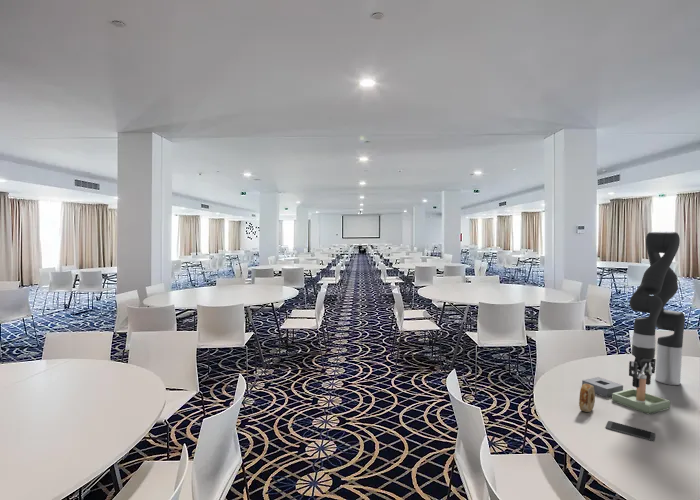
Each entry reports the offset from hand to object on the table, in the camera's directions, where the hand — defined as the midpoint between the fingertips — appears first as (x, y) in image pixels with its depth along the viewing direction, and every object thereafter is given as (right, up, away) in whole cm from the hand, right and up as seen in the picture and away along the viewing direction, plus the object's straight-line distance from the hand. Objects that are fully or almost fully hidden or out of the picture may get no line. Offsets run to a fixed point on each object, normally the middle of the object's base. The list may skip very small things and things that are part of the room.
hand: (641, 385), depth 167 cm
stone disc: (-26, -8, -7) cm, 28 cm away
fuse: (0, -7, 0) cm, 7 cm away
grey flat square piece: (-7, -7, +14) cm, 17 cm away
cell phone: (-20, -9, -23) cm, 32 cm away
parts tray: (0, -8, 0) cm, 8 cm away
